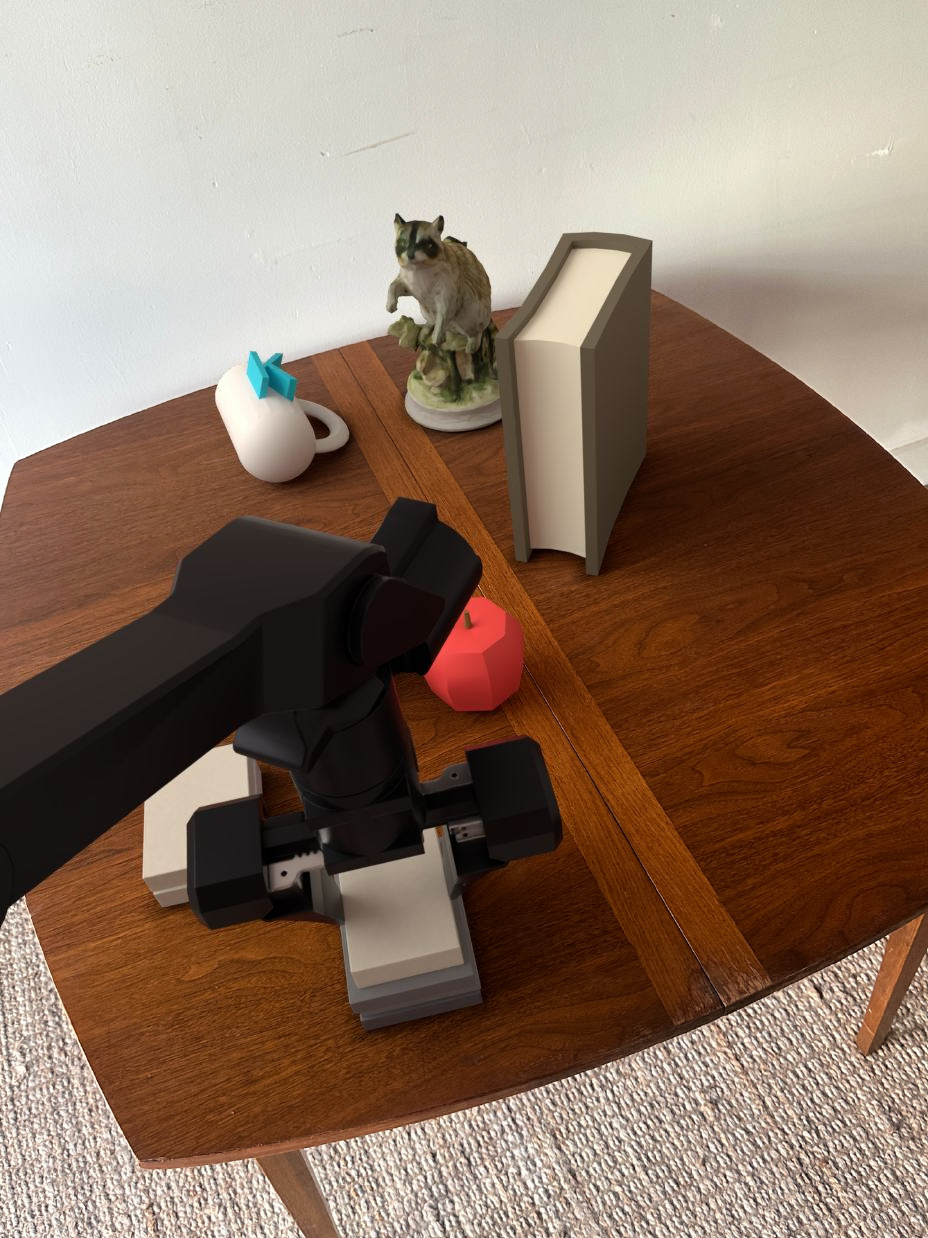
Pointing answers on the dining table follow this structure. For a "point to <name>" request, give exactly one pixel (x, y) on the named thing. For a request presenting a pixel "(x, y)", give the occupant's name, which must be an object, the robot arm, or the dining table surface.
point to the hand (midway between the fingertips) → (398, 904)
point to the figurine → (445, 329)
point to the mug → (273, 420)
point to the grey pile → (417, 985)
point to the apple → (479, 659)
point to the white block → (400, 918)
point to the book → (576, 393)
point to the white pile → (189, 816)
